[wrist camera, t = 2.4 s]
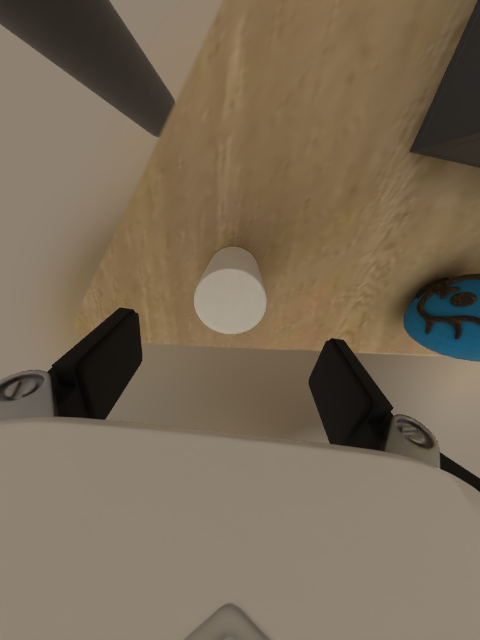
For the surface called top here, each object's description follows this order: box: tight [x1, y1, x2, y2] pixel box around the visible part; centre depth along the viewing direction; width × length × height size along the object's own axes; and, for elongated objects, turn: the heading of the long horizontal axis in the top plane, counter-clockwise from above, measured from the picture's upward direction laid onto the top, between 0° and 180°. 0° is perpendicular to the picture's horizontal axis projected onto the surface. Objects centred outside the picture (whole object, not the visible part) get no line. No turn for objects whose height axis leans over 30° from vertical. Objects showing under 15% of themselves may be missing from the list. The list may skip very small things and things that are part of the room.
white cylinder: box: [194, 247, 267, 334], centre depth 17 cm, size 5×5×7 cm
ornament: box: [404, 274, 480, 361], centre depth 17 cm, size 8×5×10 cm, turn 132°
